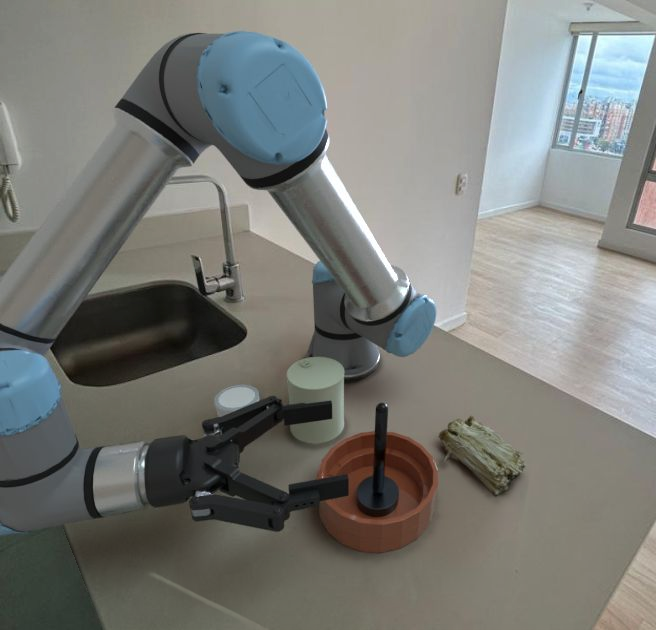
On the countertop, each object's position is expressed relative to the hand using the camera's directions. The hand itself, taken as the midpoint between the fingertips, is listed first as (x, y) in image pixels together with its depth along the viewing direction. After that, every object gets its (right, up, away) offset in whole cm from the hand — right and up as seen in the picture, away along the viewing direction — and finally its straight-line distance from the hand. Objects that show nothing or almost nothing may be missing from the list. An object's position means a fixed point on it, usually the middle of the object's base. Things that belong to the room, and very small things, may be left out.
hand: (339, 443), depth 57 cm
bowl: (+4, -11, +7) cm, 14 cm away
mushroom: (+20, -8, +16) cm, 27 cm away
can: (-7, -3, +20) cm, 22 cm away
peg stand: (+4, -10, +7) cm, 13 cm away
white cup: (-20, -3, +18) cm, 27 cm away
